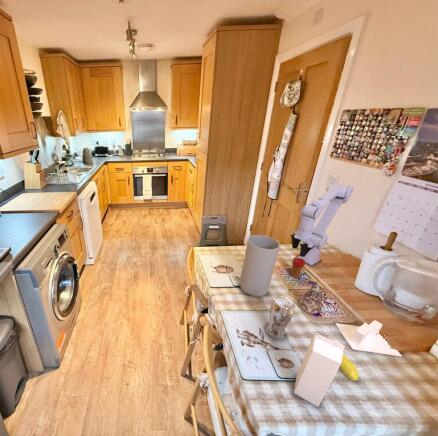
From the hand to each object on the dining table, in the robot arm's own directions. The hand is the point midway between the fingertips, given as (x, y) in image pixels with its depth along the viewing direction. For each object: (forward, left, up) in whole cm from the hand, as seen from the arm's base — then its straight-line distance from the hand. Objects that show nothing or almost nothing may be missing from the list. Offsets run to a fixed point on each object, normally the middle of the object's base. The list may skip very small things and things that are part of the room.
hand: (298, 252), depth 118 cm
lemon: (+40, +39, -10) cm, 57 cm away
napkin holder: (+20, +38, -10) cm, 44 cm away
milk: (+57, +36, -10) cm, 68 cm away
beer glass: (+46, +19, -10) cm, 51 cm away
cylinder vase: (+32, -1, -10) cm, 33 cm away
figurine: (+22, +19, -10) cm, 31 cm away
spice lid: (+6, +4, -1) cm, 7 cm away
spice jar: (+6, +4, -10) cm, 12 cm away
